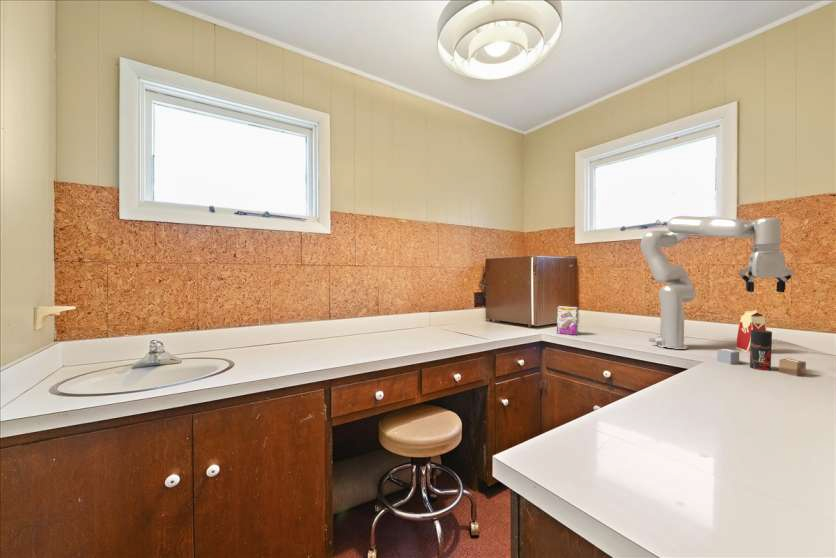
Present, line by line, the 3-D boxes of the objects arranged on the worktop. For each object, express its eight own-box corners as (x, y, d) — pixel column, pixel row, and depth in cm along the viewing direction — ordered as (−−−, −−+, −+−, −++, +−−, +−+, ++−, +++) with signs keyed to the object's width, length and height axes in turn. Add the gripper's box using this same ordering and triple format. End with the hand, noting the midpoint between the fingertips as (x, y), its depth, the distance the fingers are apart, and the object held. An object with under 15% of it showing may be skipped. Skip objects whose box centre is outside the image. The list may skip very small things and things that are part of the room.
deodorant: (764, 366, 137) (765, 330, 136) (774, 371, 131) (775, 333, 131) (746, 365, 139) (747, 329, 138) (755, 369, 133) (756, 332, 132)
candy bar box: (556, 333, 204) (556, 306, 203) (558, 332, 208) (558, 305, 208) (576, 335, 198) (577, 308, 197) (577, 334, 202) (578, 307, 202)
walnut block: (796, 376, 125) (796, 362, 125) (779, 372, 130) (779, 359, 130) (805, 375, 127) (805, 361, 126) (787, 371, 131) (788, 358, 131)
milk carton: (771, 353, 156) (772, 310, 155) (747, 352, 158) (748, 310, 157) (755, 348, 165) (757, 308, 164) (733, 348, 166) (734, 307, 166)
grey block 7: (730, 364, 140) (730, 352, 140) (717, 361, 145) (717, 349, 145) (739, 363, 142) (739, 351, 142) (725, 360, 147) (725, 348, 146)
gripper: (745, 249, 133) (744, 292, 134) (801, 248, 129) (800, 292, 129) (734, 250, 141) (733, 291, 141) (786, 249, 136) (785, 291, 136)
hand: (765, 291), depth 135 cm, fingers open, 9 cm apart
